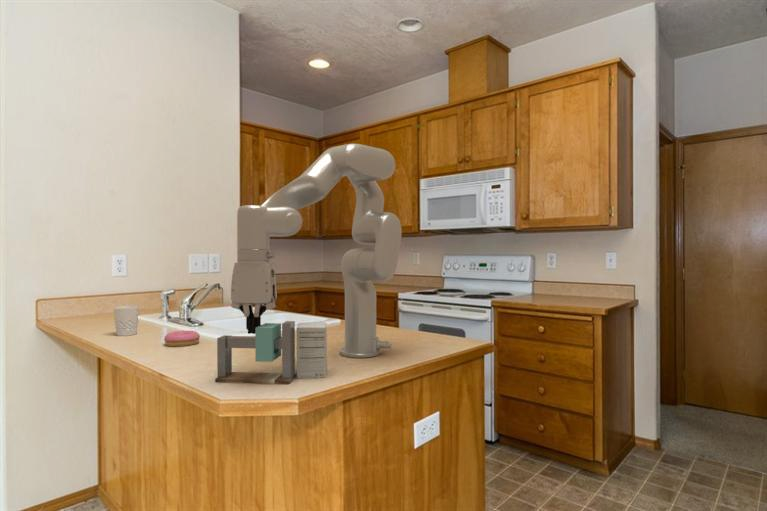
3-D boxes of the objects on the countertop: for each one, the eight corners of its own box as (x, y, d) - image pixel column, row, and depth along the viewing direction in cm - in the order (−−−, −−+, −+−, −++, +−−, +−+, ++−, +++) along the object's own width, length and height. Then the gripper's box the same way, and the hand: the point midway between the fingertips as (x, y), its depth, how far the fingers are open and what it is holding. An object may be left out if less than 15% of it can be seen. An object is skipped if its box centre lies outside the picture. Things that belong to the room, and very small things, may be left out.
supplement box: (298, 370, 122) (298, 322, 122) (327, 370, 123) (327, 321, 123) (296, 378, 115) (295, 327, 115) (326, 378, 116) (326, 326, 115)
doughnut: (170, 349, 148) (170, 336, 148) (159, 344, 157) (159, 331, 156) (204, 344, 156) (204, 332, 156) (192, 339, 164) (192, 327, 164)
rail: (294, 378, 115) (294, 321, 115) (290, 382, 111) (290, 323, 111) (224, 376, 117) (223, 320, 117) (217, 380, 113) (217, 322, 113)
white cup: (143, 333, 174) (142, 306, 174) (121, 337, 167) (121, 309, 167) (131, 331, 178) (130, 305, 178) (109, 335, 172) (109, 307, 171)
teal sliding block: (281, 355, 116) (281, 323, 116) (272, 361, 110) (271, 328, 110) (265, 354, 117) (265, 323, 117) (255, 361, 110) (255, 327, 110)
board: (296, 376, 116) (296, 373, 116) (288, 384, 110) (288, 380, 110) (226, 375, 118) (226, 371, 118) (215, 381, 112) (215, 378, 112)
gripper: (288, 256, 117) (288, 330, 117) (230, 256, 118) (230, 329, 118) (278, 257, 109) (278, 336, 109) (216, 257, 111) (216, 334, 111)
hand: (253, 332), depth 114 cm, fingers closed
